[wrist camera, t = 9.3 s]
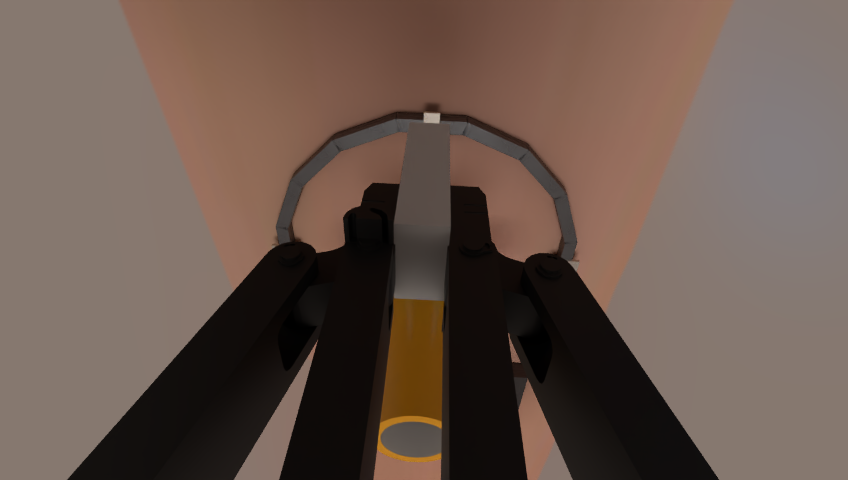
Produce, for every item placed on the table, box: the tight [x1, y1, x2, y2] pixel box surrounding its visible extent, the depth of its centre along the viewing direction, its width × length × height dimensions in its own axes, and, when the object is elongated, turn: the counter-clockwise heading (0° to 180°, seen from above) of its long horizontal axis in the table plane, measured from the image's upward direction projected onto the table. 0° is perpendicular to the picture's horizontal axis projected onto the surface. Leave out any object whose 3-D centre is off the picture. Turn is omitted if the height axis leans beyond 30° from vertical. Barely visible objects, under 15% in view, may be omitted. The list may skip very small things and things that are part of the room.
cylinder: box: [377, 298, 444, 462], centre depth 27 cm, size 12×10×15 cm
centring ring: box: [272, 111, 579, 271], centre depth 33 cm, size 21×21×1 cm
